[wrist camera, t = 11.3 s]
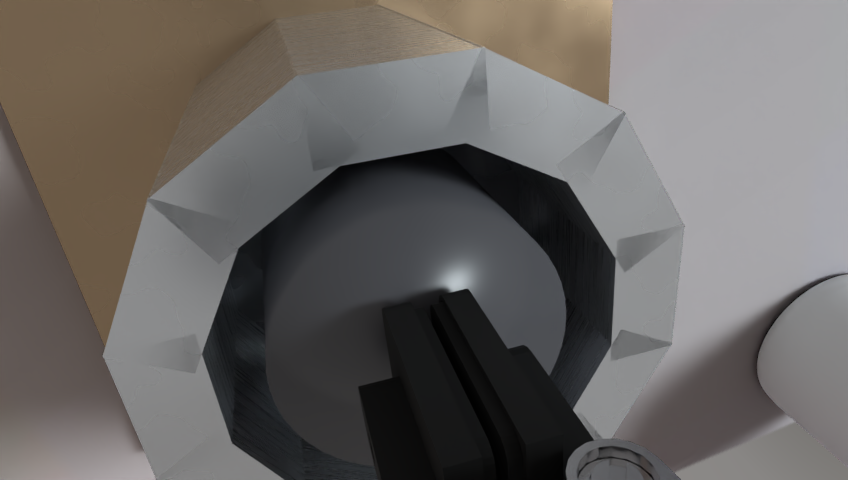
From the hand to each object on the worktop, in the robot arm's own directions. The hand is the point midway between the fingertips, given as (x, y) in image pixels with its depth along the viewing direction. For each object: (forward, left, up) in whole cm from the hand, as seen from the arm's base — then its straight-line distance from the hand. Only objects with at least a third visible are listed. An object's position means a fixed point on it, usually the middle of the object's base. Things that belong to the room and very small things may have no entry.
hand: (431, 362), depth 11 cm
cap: (0, 0, -5) cm, 5 cm away
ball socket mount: (0, 0, -10) cm, 10 cm away
